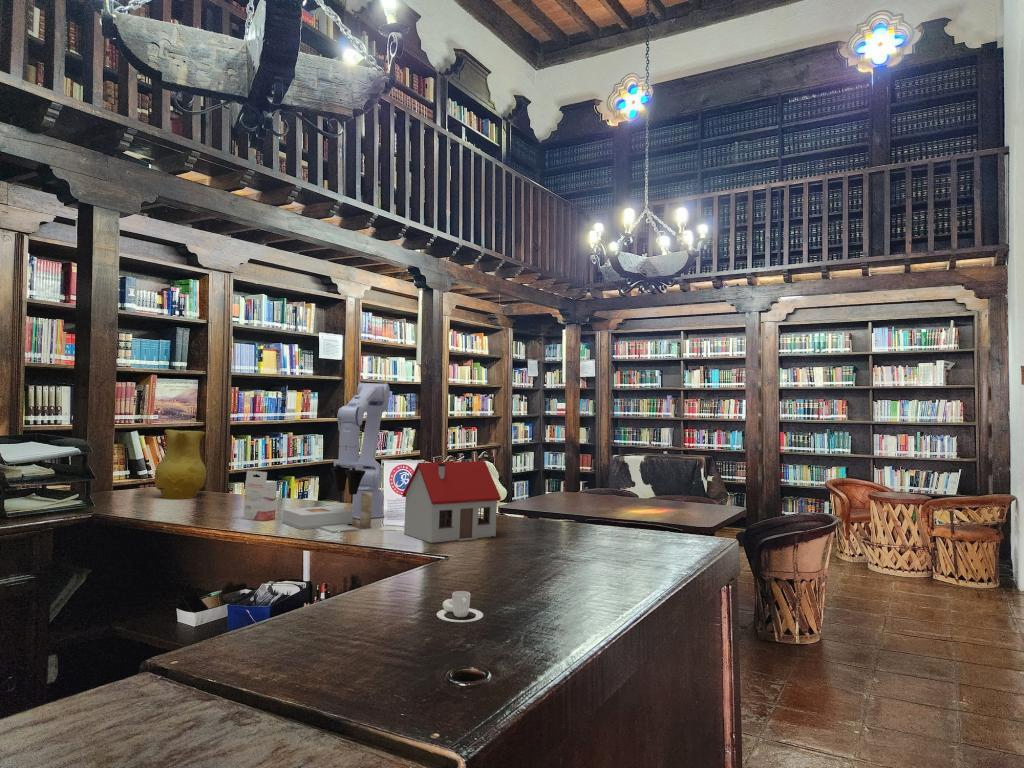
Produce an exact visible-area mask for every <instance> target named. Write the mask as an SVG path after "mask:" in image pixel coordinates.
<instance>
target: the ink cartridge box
mask: <svg viewBox="0 0 1024 768" xmlns="http://www.w3.org/2000/svg"><path fill="white" fill-rule="evenodd" d="M256 475H257V476H259V477H256ZM245 476H246V478H245V484H244V486H245V487H244V503H243V504H244V505H243V519H244V520H250V521H251V520H252V521H253V520H254V521H259V522H260V521H261V522H265V521H271V520H275V519H276V510H277V509H276V508H277V507H276V506H277V490H278V489H277V487H278V484H277V483H278V481H277V480H276V481H274V480H267V477H268V472H267V471H257V470H256V471H255V470H247V471H246V475H245Z"/></svg>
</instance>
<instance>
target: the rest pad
mask: <svg viewBox="0 0 1024 768" xmlns="http://www.w3.org/2000/svg"><path fill="white" fill-rule="evenodd" d="M322 529H323V530H322ZM320 530H322V531H325V530H326V532H328V531H330V532H329V533H331V532H337V533H339V532H338V531H346V530H356V531H359V527H358V528H357V527H354V526H352V525H345V524H344V525H333V526H323V527H320ZM346 532H347V531H346Z"/></svg>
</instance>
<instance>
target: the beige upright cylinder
mask: <svg viewBox="0 0 1024 768" xmlns="http://www.w3.org/2000/svg"><path fill="white" fill-rule="evenodd" d="M371 507H372V493H362V498H361V519H359V521H360V523H359V527H361V528H360V529H371V528H370V527H371V526H372V525H371V523H372V518H371Z"/></svg>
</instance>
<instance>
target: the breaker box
mask: <svg viewBox="0 0 1024 768" xmlns="http://www.w3.org/2000/svg"><path fill="white" fill-rule="evenodd" d="M312 510H325V511H326V512H310V511H312ZM281 523H282V524H285V525H288V526H290V527H293V528H296V529H299V530H310V529H312V528H313V529H319V528H320V527H323V526H333V525H344V524H345V525H348V524H352V525H353V511H352V510H349V509H346V508H343V507H342V508H341V507H338V506H334V505H327V506H312V507H300V508H296V507H295V508H285V509H283V508H282V522H281ZM348 526H349V525H348Z"/></svg>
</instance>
